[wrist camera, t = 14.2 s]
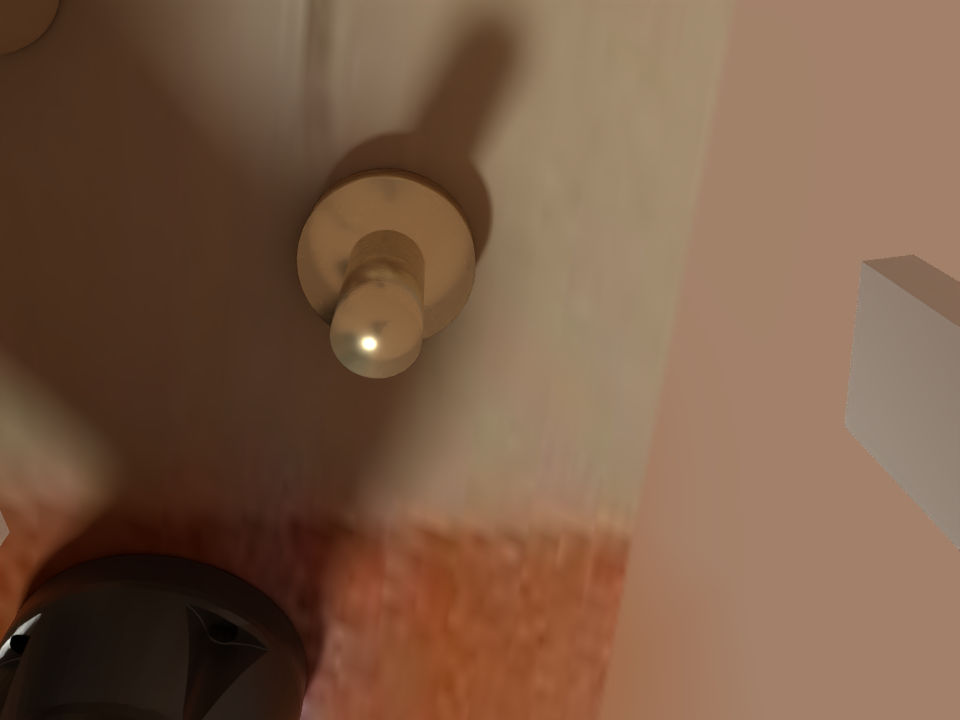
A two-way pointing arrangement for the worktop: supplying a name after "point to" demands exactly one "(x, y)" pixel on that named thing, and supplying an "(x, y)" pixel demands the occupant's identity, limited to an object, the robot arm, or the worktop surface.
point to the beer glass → (24, 22)
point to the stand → (385, 267)
